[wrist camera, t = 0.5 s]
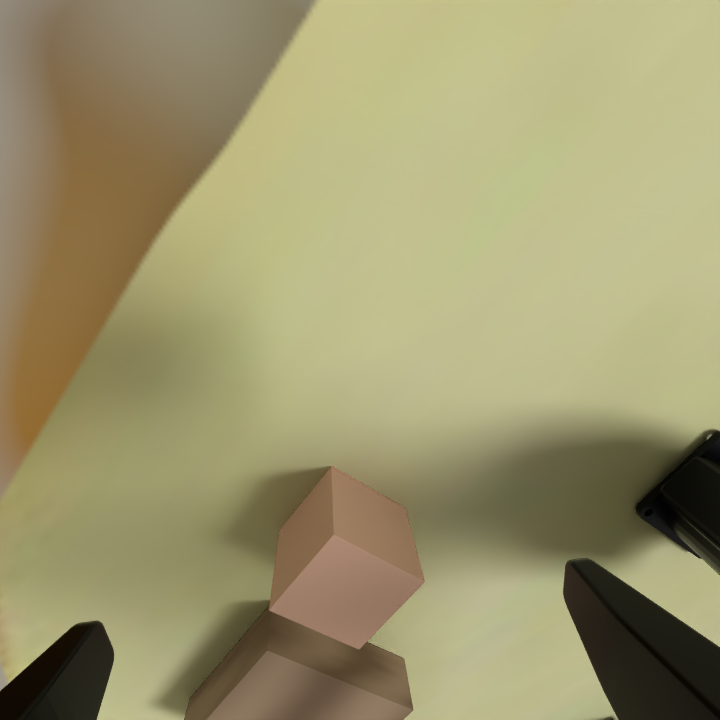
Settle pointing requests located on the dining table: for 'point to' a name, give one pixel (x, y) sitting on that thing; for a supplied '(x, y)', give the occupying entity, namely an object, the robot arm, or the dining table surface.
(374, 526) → the cube
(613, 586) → the robot arm
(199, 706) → the plinth
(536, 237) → the dining table surface
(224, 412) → the dining table surface
